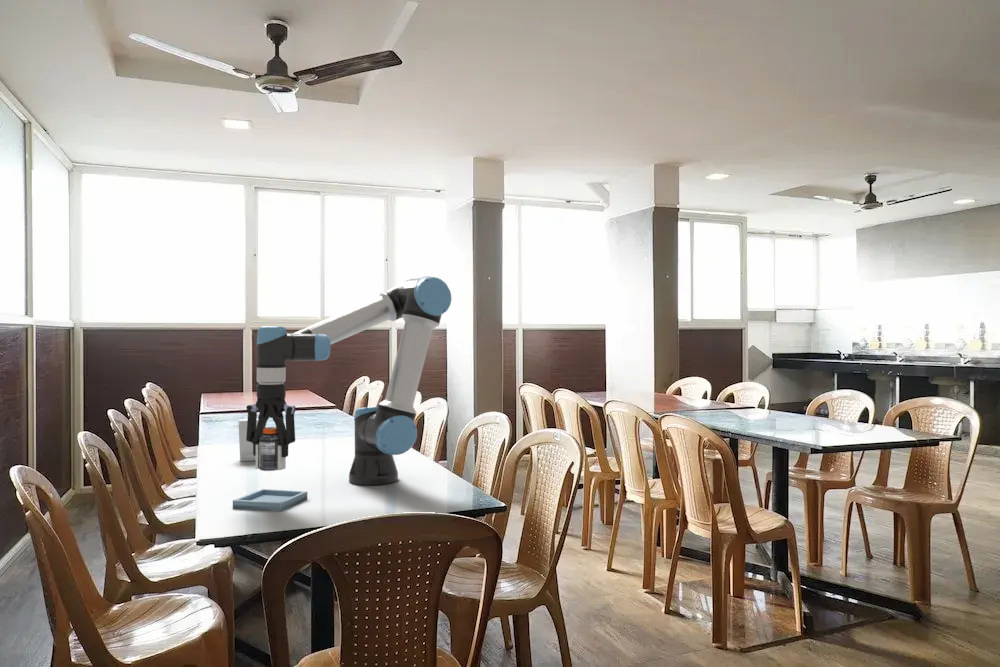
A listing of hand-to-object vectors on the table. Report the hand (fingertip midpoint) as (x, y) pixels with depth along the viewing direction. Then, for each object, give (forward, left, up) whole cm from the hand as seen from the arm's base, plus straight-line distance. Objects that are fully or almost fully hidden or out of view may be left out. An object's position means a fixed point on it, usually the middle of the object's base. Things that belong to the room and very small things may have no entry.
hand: (270, 468), depth 192 cm
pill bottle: (0, 0, 0) cm, 0 cm away
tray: (0, 0, -9) cm, 9 cm away
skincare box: (+42, -56, -10) cm, 71 cm away
